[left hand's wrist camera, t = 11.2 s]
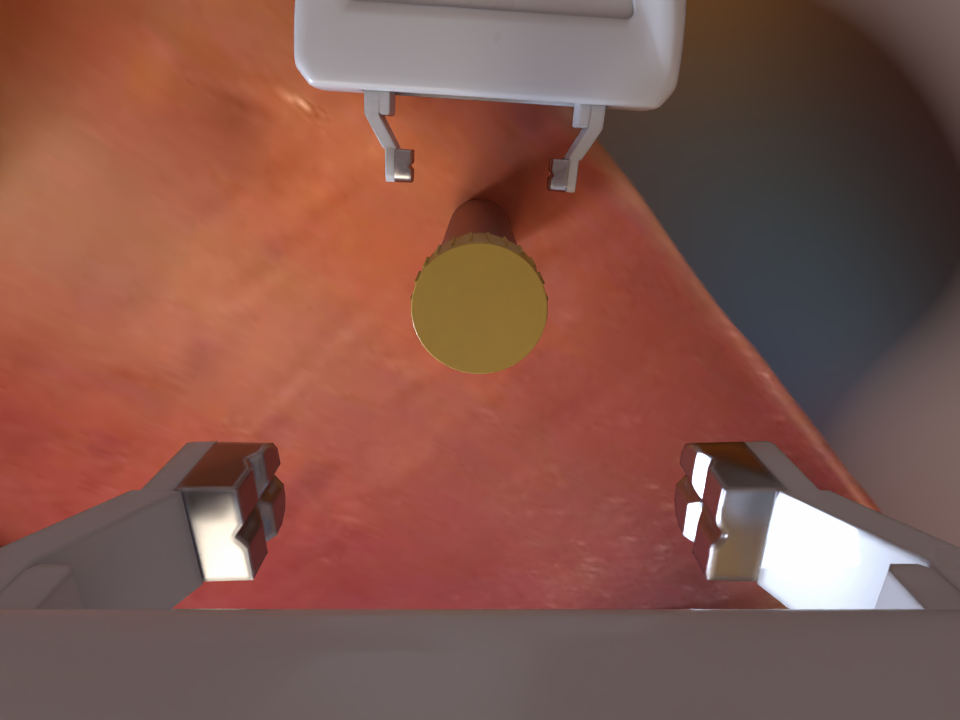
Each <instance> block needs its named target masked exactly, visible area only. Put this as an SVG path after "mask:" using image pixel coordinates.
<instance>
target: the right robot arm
mask: <svg viewBox="0 0 960 720" xmlns="http://www.w3.org/2000/svg"><path fill="white" fill-rule="evenodd" d="M685 17H686V0H295V16H294V57H295V63H296V66H297V68H298V70H299V71H300V73H301V74H302V76H303V77H304V78H305V79H306V81H307V82H308V83H309V84H310V85H311V86H313V87H316V88H318V89H322V90H327V91H341V92H356V93H364V109H365V115H366V117H367V119H368V121H369V123H370V125H371V127H372V128H373V130H374V132H375V134H376V136H377V138H378V140H379V141H380V143H381V145H382V147H383V148H385V176H386V181H389V182H409V183H412V182H413V181H414V169H413V167H412V164H413V163H414V150H409V149H398V148H400V146H399V144H398V142H397V140H396V138H395V136H394V134H393V132H392V130H391V128H390V126H389V124H388V122H387V120H386V118H385V116H394V115H395V95H403V96H418V97H434V98H449V99H464V100H480V101H495V102H511V103H526V104H542V105H557V106H573V107H574V114H573V125H572V126H573V127H574V128H582V130H581V131H580V133H579V134H578V136H577V138H576V139H575V141H574V142H573V144H572V145H571V147H570V148H569V150H568V151H567V153H566V154H565V156H564V157H563V158H564V159H553V158H550V159H549V169H548V170H549V172H550V175H549V177H548V179H547V190H549V191H557V192H572V193H574V191H575V188H576V181H577V172H578V164H579V160H582V158H583V157H584V155H585V154H586V153H587V151H588V150H589V148H590V147H591V145H592V144H593V143H594V141H595V140H596V138H597V137H598V135H599V134H600V132H601V131H602V130H603V124H604V116H605V109H619V110H635V111H646V110H652V109H656V108H659V107H660V106H661V105H662V104H663V103H664V102H665V101H666V100H667V99H668V98H669V97H670V95H671V94H672V93H673V92H674V90H675V88H676V85H677V82H678V76H679V71H680V64H681V58H682V50H683V41H684V30H685Z"/></svg>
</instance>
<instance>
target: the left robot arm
mask: <svg viewBox="0 0 960 720" xmlns="http://www.w3.org/2000/svg"><path fill="white" fill-rule="evenodd" d="M279 465H280V459H279V454H278V449H277V447H276V446H275V445H274V444H273V443H258V442H217V441H207V442H190V443H187V444H186V445H185V446H184V447H183V448H182V449H181V450H180V451H179V452H178V453H177V454H176V455H175V456H174V457H173V458H172V459H171V460H170V461H169V462H168V463H167V464H166V465H165V466H164V467H163V468H162V469H161V470H160V471H159V472H158V473H157V474H156V475H155V476H154V477H153V478H152V479H151V480H150V481H149V482H148V483H147V484H146V485H145V486H144V487H143V488H142V489H141V490H135V491H129V492H127V493H124V494H122V495H120V496H117V497H115V498H113V499H111V500H108V501H106V502H104V503H101V504H99V505H97V506H95V507H92V508H90V509H88V510H85V511H83V512H81V513H79V514H76V515H74V516H72V517H69V518H67V519H65V520H63V521H60V522H58V523H56V524H53V525H51V526H49V527H46V528H44V529H42V530H40V531H37V532H35V533H33V534H30V535H28V536H26V537H24V538H21V539H19V540H17V541H14V542H12V543H10V544H8V545H5V546H3V547H1V548H0V720H960V548H959V547H957V546H954V545H952V544H950V543H947V542H945V541H943V540H941V539H938V538H936V537H934V536H932V535H929V534H927V533H925V532H922V531H920V530H918V529H915V528H913V527H911V526H909V525H906V524H904V523H902V522H900V521H897V520H895V519H893V518H890V517H888V516H886V515H884V514H881V513H879V512H877V511H874V510H872V509H870V508H868V507H865V506H863V505H861V504H858V503H856V502H854V501H852V500H849V499H847V498H845V497H843V496H840V495H838V494H836V493H833V492H831V491H825V490H819V489H818V488H817V487H816V486H815V485H814V484H813V483H812V482H811V481H810V480H809V479H808V478H807V477H806V476H805V475H804V474H803V473H802V472H801V471H800V470H799V469H798V468H797V467H796V466H795V465H794V464H793V463H792V462H791V461H790V460H789V459H788V458H787V457H786V456H785V455H784V454H783V453H782V452H781V450H780V449H779V448H778V447H777V446H776V445H775V444H774V443H771V442H768V441H758V442H719V443H689V444H685V445H684V448H683V450H682V453H681V458H680V465H681V467H682V469H683V470H684V472H685V474H686V475H685V476H684V477H683V478H682V479H681V480H680V481H679V482H678V483H677V484H676V491H675V500H674V501H675V513H676V518H677V521H678V525H679V527H680V529H681V531H682V533H683V535H684V536H686V537H687V538H689V539H690V540H692V541H693V542H694V546H693V552H692V553H693V555H694V556H695V558H696V560H697V562H698V564H699V566H700V568H701V570H702V572H703V573H704V575H705V577H706V579H707V580H726V581H758V582H757V584H758V585H760V586H761V587H762V588H763V589H765V590H766V591H767V592H768V593H770V594H771V595H772V596H774V597H775V598H776V599H777V600H779V601H780V602H781V603H782V604H784V605H785V606H786V607H788V608H789V609H171V608H173V607H174V606H175V605H176V604H178V603H179V602H180V601H182V600H183V599H184V598H185V597H187V596H188V595H189V594H190V593H192V592H193V591H194V590H196V589H197V588H198V587H199V586H201V585H202V584H203V582H202V581H233V580H253V579H254V577H255V575H256V574H257V572H258V570H259V568H260V566H261V564H262V562H263V560H264V558H265V556H266V555H267V553H268V552H267V546H266V542H267V541H268V540H270V539H271V538H273V537H274V536H276V535H277V533H278V531H279V529H280V527H281V525H282V521H283V517H284V512H285V490H284V484H283V483H282V482H281V481H280V480H279V479H278V478H277V477H276V476H275V475H274V474H275V472H276V470H277V469H278V467H279Z"/></svg>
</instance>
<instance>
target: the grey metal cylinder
mask: <svg viewBox="0 0 960 720" xmlns="http://www.w3.org/2000/svg"><path fill="white" fill-rule="evenodd" d="M469 232H472V234H476V233H483V234H487V232H490V234H491V235H496V236H499V237H502V238H503V237H504V236H505V237H507V240H509V241H511V242H512V243H514V244H515V245H517V243H516V240H515V237H514V235H513V232H512V229H511V226H510V224H509V221H508V218H507V216H506V214H505V213H504V211H503V210H502V209H501V208H500V207H499V206H498V205H497V204H495V203H493V202H491V201H489V200H485V199H474V200H470V201H467V202H465V203H463V204H462V205H461V206H459V207H458V208H457V209H456V211H455V212H454V214H453V215H452V217H451V220H450V223H449V225H448V228H447V231H446V234H445V236H444V239H443V242H442V245H443V244H445V243H446V242H448V241H450V240H452V238H453V237H454V236H455V237H456V238H457V237H460V236H463V235H467V234H469ZM442 245H441V246H442Z"/></svg>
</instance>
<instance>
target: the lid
mask: <svg viewBox="0 0 960 720" xmlns="http://www.w3.org/2000/svg"><path fill="white" fill-rule="evenodd" d="M414 283H416V285H415V288H414V291H413V293H412V296H411V300H412V301H411V317H412V321H413V325H414V328H415V331H416V333H417V336H418V338H419V339H420V341H421V343H422V344H423V346H424V347H425V348H426V350H427V351H428V352H429V353H430V354H431V355H432V356H433V357H435V358H436V359H437V360H438V361H440V362H441V363H443V364H445V365H446V366H448V367H450V368H453V369H455V370H458V371H462V372H466V373H474V374H485V373H492V372H497V371H500V370H504V369H506V368H508V367H510V366H512V365H514V364H516V363H517V362H519V361H520V360H522V359H523V358H524V357H525V356H527V355H528V354H529V352H530V351H531V350H532V349H533V348H534V347H535V345H536V344H537V342H538V341H539V339H540V337H541V335H542V333H543V330H544V328H545V324H546V320H547V312H548V309H547V301H548V297H547V294H546V292H545V289H544V286H543V284H544V283H545V282H544V280H543V278H542V276H541V274H540V272H537V270H536V265H535V263H534V261H533V258H532V257H530V258H529V257H528V256H527V254H526V253H525V252H524V251H523V250H522V247H521V246H520V245H518V246H517V245H515V244H514V243H512V242H511V241H509V240H507V237H505V236H504V237H503V238H502V237H499V236H496V235H491V234H490V232H487V234H483V233H476V234H472V232H469V234H467V235H463V236H460V237H457V238H456V237H455V236H454V237H453V238H452V240H450V241H448V242H446V243H445V244H443V245H442V246H441V245H438V247H437V250H436V251H435V252H434V253H433V254H432V255H431V256H430V258H429V257H427V258H426V260H425V262H424V265H423V269H422V271H419V273H418V275H417V277H416V279H415V282H414Z"/></svg>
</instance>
